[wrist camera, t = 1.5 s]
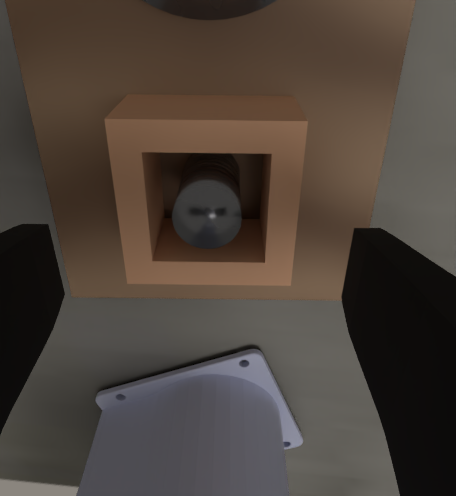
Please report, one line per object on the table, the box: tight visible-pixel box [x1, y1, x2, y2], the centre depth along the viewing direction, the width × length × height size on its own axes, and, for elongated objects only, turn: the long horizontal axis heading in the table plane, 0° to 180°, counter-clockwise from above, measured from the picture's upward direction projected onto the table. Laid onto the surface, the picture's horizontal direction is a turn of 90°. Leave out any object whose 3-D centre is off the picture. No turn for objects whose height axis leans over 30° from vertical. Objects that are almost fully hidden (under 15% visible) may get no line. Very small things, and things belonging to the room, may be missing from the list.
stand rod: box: [172, 153, 242, 249], centre depth 14 cm, size 2×2×4 cm
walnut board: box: [5, 0, 416, 300], centre depth 14 cm, size 20×12×2 cm, turn 0°
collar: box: [104, 94, 308, 286], centre depth 14 cm, size 5×5×3 cm
